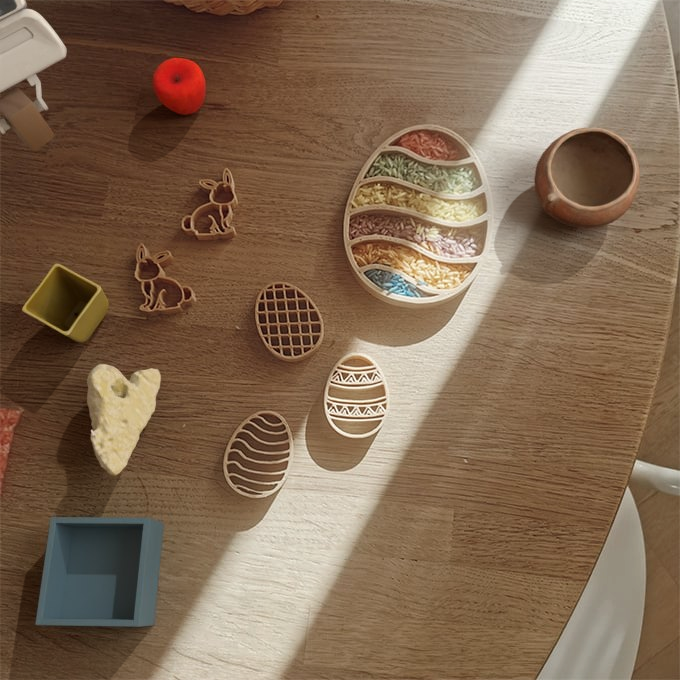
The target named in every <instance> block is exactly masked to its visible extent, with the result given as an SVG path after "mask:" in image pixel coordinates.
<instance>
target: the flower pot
mask: <svg viewBox="0 0 680 680" xmlns="http://www.w3.org/2000/svg"><path fill="white" fill-rule="evenodd" d="M109 305H110V303H109V300H108V297H107V296H106V294H105V292H104V290H103V288H102V287H101V286H100V285H99V284H97V283H96V282H94V281H91V280H89V279H88V278H86V277H84V276H82V275H80V274H79V273H76V272H74V271H73V270H71V269H70V268H68V267H66V266H64V265H63V264H60V263H54V264H53V265H52V266H51V268H50V269H49V271H48V273H47V274H46V276H45V277H44V278H43V280H42V281H41V283H40V284H39V285H38V287H36V289H35V290H34V292H33V293H32V294H31V295H30V296H29V298H28V299H27V301H26V302H25V303H24V304H23V306H22V308H21V311H22V312H23V313H24V314H27V315H28V316H30V317H32V318H33V319H35V320H37V321H39V322H41V323H42V324H45V325H46V326H47V327H49V328H51V329H53V330H55V331H57V332H58V333H59V334H61V335H64V336H65V337H67V338H69V339H71V340H72V341H75V342H77V343H84V342H86V341H87V340H89V339H90V338H91V336H93V334H94V332H95V330H96V329H97V328H98V326H99V325H100V323H101V322H102V320H103V319H104V318H105V316H106V315H107V313H108V311H109ZM76 314H77V315H76Z"/></svg>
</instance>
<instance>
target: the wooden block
mask: <svg viewBox="0 0 680 680" xmlns="http://www.w3.org/2000/svg"><path fill="white" fill-rule="evenodd" d="M0 114H1V116H2V118H5V119H6V120H7V124H9V125H10V126H11V128H12V129H11V130H13V132H14V133H15V134H16V136H17V137H18V138H19V139H20V140H21V141H22V142H23V143H24V145H25V146H27V148H28V149H29V150H30V151H32V152H34V153H35V152H37V151H38V150H40V149H41V148H42V147H43V146H45V145H46V144H47V143H49V142H50V141H52V140H53V139H54V138H55V134H54V132H53V131H52V129H51V127H50V126H49V124H48V123H47V122H46V120H45V119H44V117H43V116H42V113H39V111H38V110H37V108H36V107H35V105H34V104H33V101H32V100H31V99H30V98H29V96H27V95H26V94H25V93H24V92H23V90H21V89H20V88H19V87H18V86H13V87H12V89H11V88H10V90H8V91H7V92H6V93H5V94H3V95H1V96H0Z"/></svg>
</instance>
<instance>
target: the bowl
mask: <svg viewBox="0 0 680 680" xmlns="http://www.w3.org/2000/svg"><path fill="white" fill-rule="evenodd" d="M640 176H641V175H640V166H639V161H638V159H637V156H636V154H635V152H634V151H633V149H632V147H631V145H629V144H628V143H627V141H626V140H625V139H624V138H622V137H621V136H620V135H618V134H616V133H615V132H612V131H610V130H608V129H606V128H603V127H596V126H595V127H594V126H588V127H587V126H586V127H579V128H575V129H571V130H570V131H568V132H565V133H564V134H562V135H560V136H559V137H557V138H556V139H555V140H553V141H552V142H551V143H550V144H549V145H548V147H547V148H546V149H545V150H544V151H543V153H542V154H541V155H540V157H539V159H538V161H537V164H536V167H535V172H534V190H535V194H536V197H537V200H538V202H539V204H540V206H541V207H542V209H543V211H544V212H545V213H546V214H547V215H549V216H550V217H551V218H553V219H555V221H557V222H560V223H561V224H564V225H566V226H570V227H573V228H578V229H579V228H580V229H593V228H599V227H604V226H607V225H609V224H612V223H614V222H616V221H617V220H618V219H620V218H621V217H622V216H624V215H625V214H626V212H628V210H629V209H630V207H631V206H632V204H633V202H634V201H635V198H636V196H637V195H638V194H637V193H638V190H639V186H640Z"/></svg>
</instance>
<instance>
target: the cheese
mask: <svg viewBox="0 0 680 680" xmlns="http://www.w3.org/2000/svg"><path fill="white" fill-rule="evenodd" d="M161 380H162V376H161V372H160V370H159V369H158V368H152V367H150V368H147V369H140V370H138V371H137V370H136V371H135V372H132V374H131V376H130V378H129V380H128V379H127V377H125V376H124V374H123V373H122V372H121V371H120V370H119V369H118V368H116V367H115V366H113V365H109V364H105V363H99V364H97V365H96V366H94V367H93V368H92V369H91V371H90V372H89V373H88V375H87V379H86V384H87V395H86V403H87V407H88V411H89V418H90V420H91V424H90V425H91V428H92V429H91V430H90V432H91V433H90V442H91V444H92V448H93V452H94V455H95V457H96V459H97V460H98V463H99V465H100V467H101V468H102V469H104V470H105V471H106V473H107V474H109V475H111V476H117V475H119V474H120V473H122V471H123V470H124V469H125V468H126V467H127V465H128V463H129V460H130V458H131V455H132V454H133V451H134V450H135V448H136V447H137V444H138V442H139V440H140V434H141V433H142V432H143V430H144V429H145V428H146V426H147V425H148V422H149V421H150V420H151V418H152V415H153V414H154V413H155V410H156V407H157V401H156V399H157V395H158V393H159V391H160V388H161V383H162V381H161Z"/></svg>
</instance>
